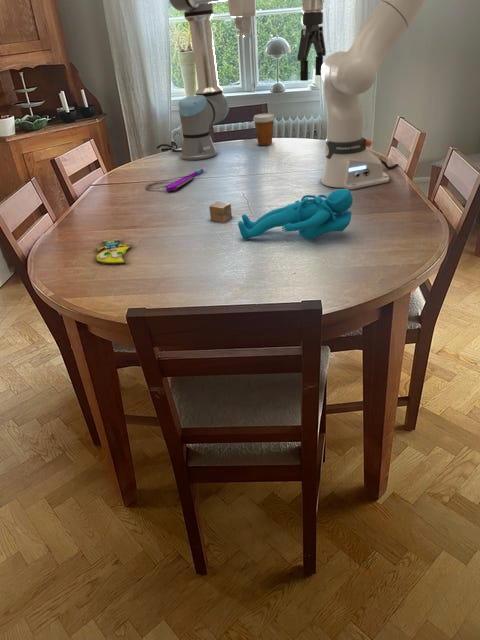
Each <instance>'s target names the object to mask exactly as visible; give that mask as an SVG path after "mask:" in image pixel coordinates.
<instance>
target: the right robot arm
mask: <svg viewBox="0 0 480 640" xmlns="http://www.w3.org/2000/svg"><path fill="white" fill-rule="evenodd" d="M426 2H427V0H380V1H379V3H378V4H377V5H376V6H375V7H374V8H373V10H372V11H371V12H370V13H369V15H368V16H367V17H366V18H365V20H364V21H363V22H362V24H361V25H360V27H359V31H358V34H357V35H356V38H355V39H354V41H353V43H352V45H350V47H349V49H347V51H343V50H340V51H336V52H334V53H332V54H330V55H328V56H327V57H326V58H325V59H324V60H323V65H322V69H321V74H322V75H321V78H322V81H323V88H324V89H323V90H324V97H325V104H326V114H327V115H326V116H327V117H326V118H327V123H326V125H327V126H326V127H327V129H326V130H327V132H326V139H325V145H324V154H325V155H324V156H325V164H324V168H323V169H324V170H323V175H322V178H321V183H322V185H324V186H327V187H330V188H337V189H348V190H356V189H361V188H366V187H371V186H376V185H380V184H385V183H389V182H390V176H389V175H388V174H387V173H386V172H385V171H384V168H383V165H384V167H385V168H386V169H387V170H393V169H395V168H397V167H399V164H398V163H396V164H394V165H391V166H390V165H388V164H387V162H386V161H384V160H382V158H380V157H377V156H376V155H375V154H373V152H371V151H370V150H368V148H370V147H371V146H373V141H372V140H371V139H368V138H367V139H366V138H364V137H362V134H363V117H364V111H363V108H362V105H361V100H360V95H361V94H364V93H366V92H367V91H368V90H369V89H370V88H372V86H373V85H374V82H375V79H376V75H377V71H378V70H379V68H380V67H381V65H382V64H383V61H384V59H385V58H386V56H387V54H388V53H389V52H390V50H391V49H392V48H393V46H394V45H395V44H396V43H397V42H398V40H399V39H400V38H401V37H402V35H403V34H404V33H405V32H406V30H408V28H409V27H410V26H411V24H412V23H413V22H414V20H416V17H417V16H418V15H419V13H420V11H421V10H422V8H423V7H424V5H425V3H426ZM227 7H228V13H229V16H230V18H234V25H235V29H236V36H238V37H239V36H243V38H244V37H245V38H246V37H250V36H251V25H252V23H251V22H252V18H251V17H254V16H256V0H227Z"/></svg>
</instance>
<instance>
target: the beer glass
mask: <svg viewBox="0 0 480 640" xmlns="http://www.w3.org/2000/svg"><path fill="white" fill-rule="evenodd" d="M252 120H253V123H254V129H255V134H256V140H257V144H258V145H259V146H269V145H271V144H273V143H272V142H273V135H274V123H275V115H274V114H273V113H258V114H255V115H254V116H253V119H252Z"/></svg>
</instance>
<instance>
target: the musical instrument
mask: <svg viewBox="0 0 480 640" xmlns="http://www.w3.org/2000/svg"><path fill="white" fill-rule="evenodd" d="M204 172H205V170H204V168H201V169H198V170H196V171H195V170H194V172H191V173H190V174H188V175H184V176H179V177H174V178H169V179H164V180H159V181H156V182H153V183H150V184H146V185H145V188H146V189H152V190H153V189H154V190H155V189H157V190H158V189H162V188H166V191H167V192H171V191H177V190H178V189H179V187H182V186H183V185H184V184H186V183H188V182H189V181H191V180H193V179H195V176H197V175H199V174H202V173H204ZM175 179H176V180H175ZM171 180H175V181H173V182H170V183H168V184H166V185H164V186H160V187H151V186H152V185H154V184H158V183H162V182H165V181H166V182H167V181H171Z"/></svg>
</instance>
